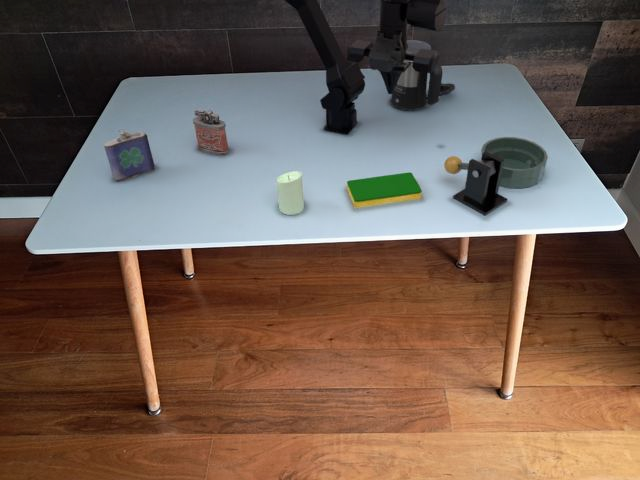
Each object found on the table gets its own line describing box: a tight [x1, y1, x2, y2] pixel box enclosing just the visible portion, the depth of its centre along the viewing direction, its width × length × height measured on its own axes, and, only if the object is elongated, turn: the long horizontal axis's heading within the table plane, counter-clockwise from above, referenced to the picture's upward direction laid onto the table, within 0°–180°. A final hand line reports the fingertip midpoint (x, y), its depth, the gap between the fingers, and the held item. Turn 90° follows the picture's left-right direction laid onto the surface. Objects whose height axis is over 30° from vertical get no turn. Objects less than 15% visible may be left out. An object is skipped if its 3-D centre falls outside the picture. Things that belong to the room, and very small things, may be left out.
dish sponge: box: [346, 171, 422, 210], centre depth 120 cm, size 7×14×2 cm, turn 101°
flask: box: [103, 128, 156, 182], centre depth 126 cm, size 9×3×11 cm, turn 121°
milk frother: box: [390, 39, 456, 111], centre depth 148 cm, size 14×16×15 cm
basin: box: [478, 136, 548, 189], centre depth 123 cm, size 13×13×5 cm
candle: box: [276, 171, 305, 216], centre depth 115 cm, size 5×5×8 cm
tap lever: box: [443, 155, 496, 176], centre depth 116 cm, size 11×4×4 cm, turn 40°
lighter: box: [192, 108, 230, 157], centre depth 133 cm, size 8×3×10 cm, turn 65°
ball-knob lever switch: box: [452, 151, 509, 217], centre depth 114 cm, size 8×7×10 cm
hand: (390, 93), depth 129 cm, fingers closed
